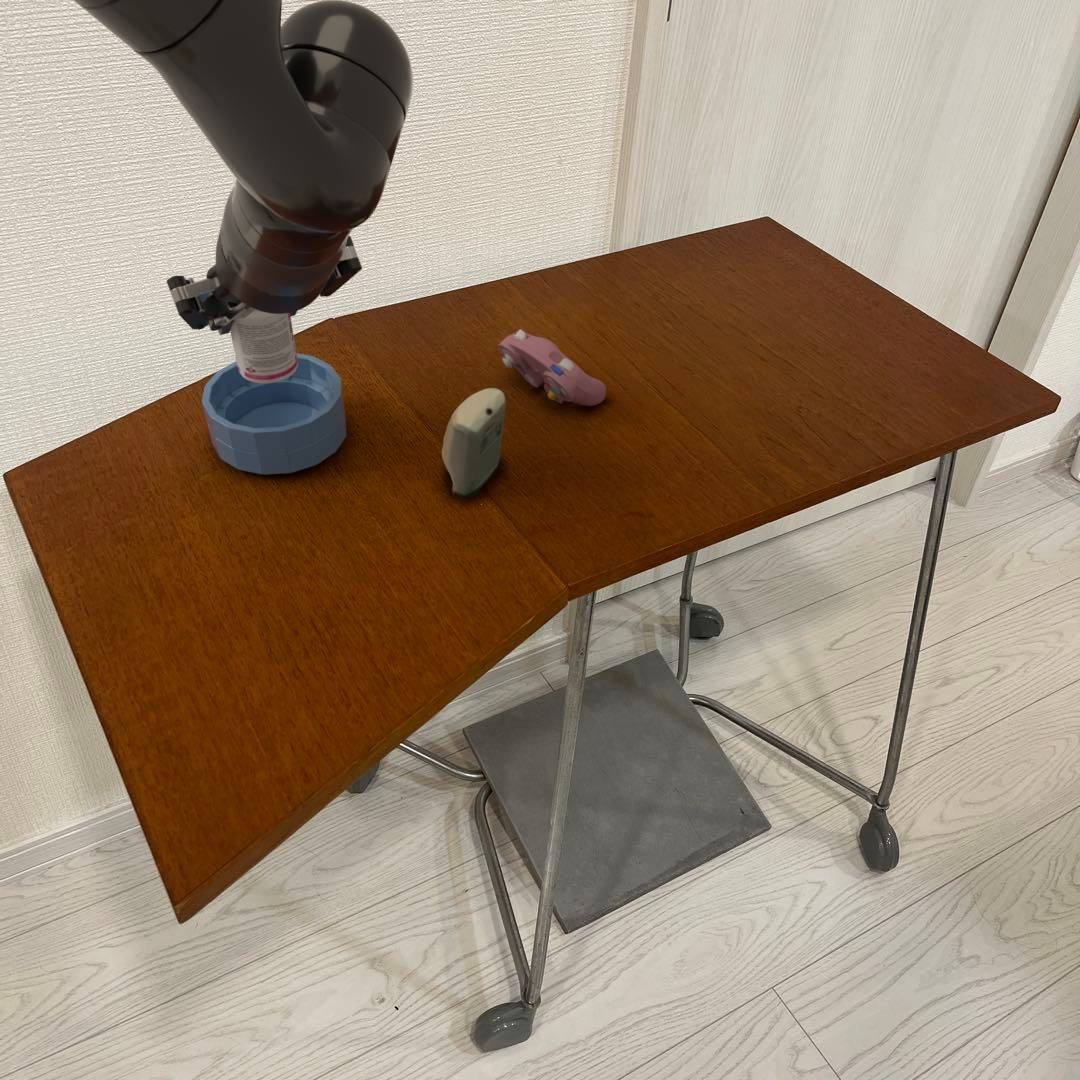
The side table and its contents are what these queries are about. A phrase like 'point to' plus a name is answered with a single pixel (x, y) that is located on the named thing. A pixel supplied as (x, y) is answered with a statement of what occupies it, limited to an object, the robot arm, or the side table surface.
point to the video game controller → (550, 369)
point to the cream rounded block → (474, 441)
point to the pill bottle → (264, 347)
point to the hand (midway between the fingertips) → (252, 313)
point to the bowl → (276, 418)
